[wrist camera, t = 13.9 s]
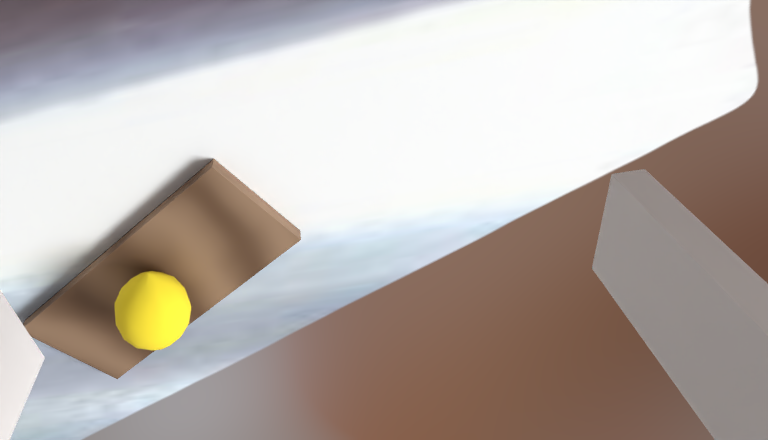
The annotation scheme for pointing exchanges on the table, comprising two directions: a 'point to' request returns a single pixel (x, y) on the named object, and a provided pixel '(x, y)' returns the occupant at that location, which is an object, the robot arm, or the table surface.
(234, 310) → the table surface
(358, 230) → the table surface
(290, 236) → the cutting board
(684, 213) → the robot arm
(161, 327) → the lemon
